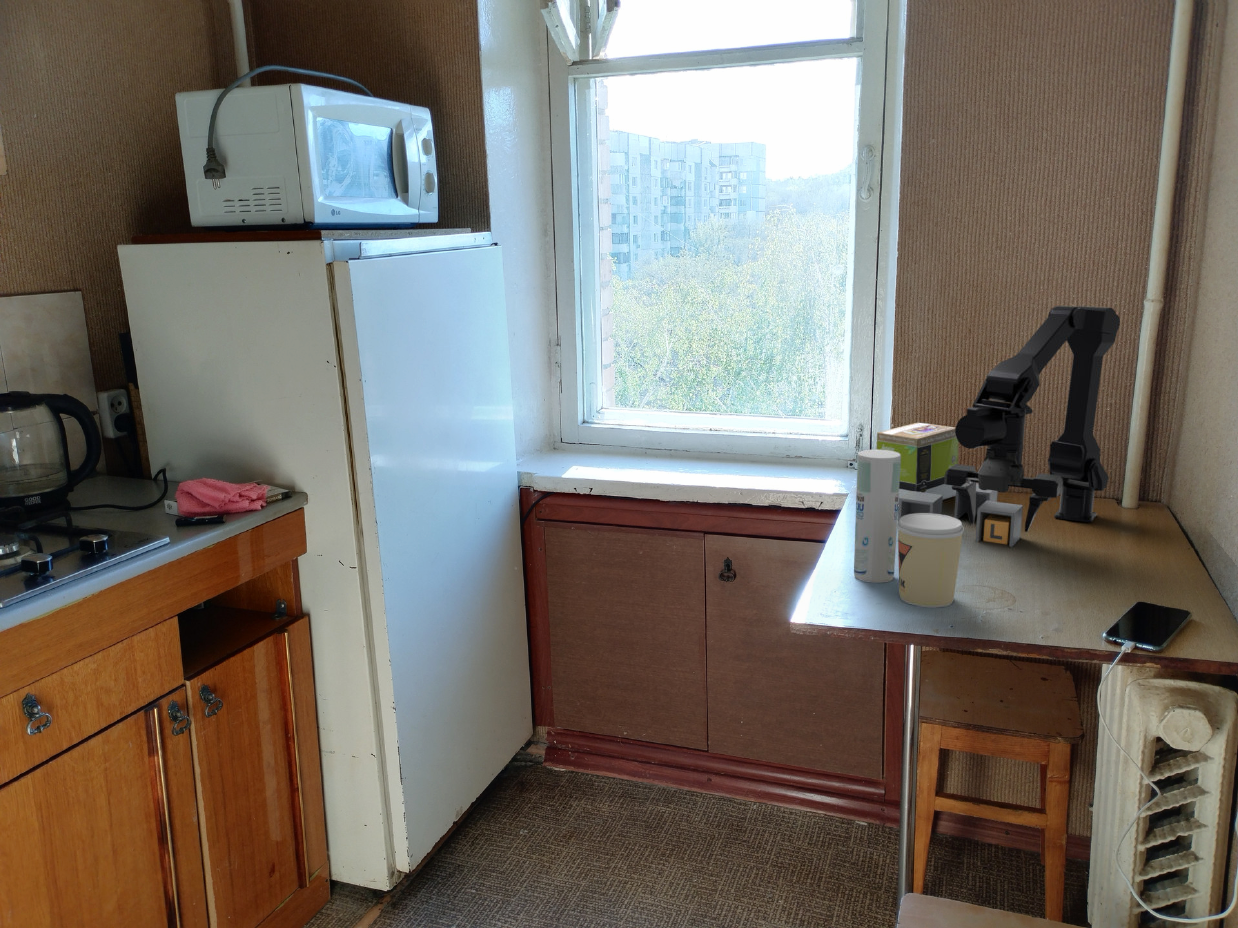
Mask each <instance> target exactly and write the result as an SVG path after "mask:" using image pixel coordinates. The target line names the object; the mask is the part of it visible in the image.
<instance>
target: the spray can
mask: <svg viewBox="0 0 1238 928" xmlns="http://www.w3.org/2000/svg"><path fill="white" fill-rule="evenodd" d="M856 464H857V466H856V467H857V468H856V493H855V495H856V496H855V525H854V526H855V527H854V529H855V530H854V556H853V557H854V558H853V561H854V562H853V574H854V575H853V577H855V578H856V579H857V580H860V581H863V582H867V583H874V584H875V583H877V584H878V583H887V582H891V581H892V580H894V577H895V565H896V549H897V534H898V529H897V523H898V508H899V506H898V499H899V481H900V464H901V455H900V454H899V453H897V452H894V451H889V450H877V449H865V450H861V451H858V453H857V462H856Z"/></svg>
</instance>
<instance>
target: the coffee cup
mask: <svg viewBox="0 0 1238 928" xmlns="http://www.w3.org/2000/svg"><path fill="white" fill-rule="evenodd" d="M897 528H898V529H897V544H898V545H897V546H898V547H897V548H898V592H899V594H898V595H899V598H900V600H902V601H903V602H904V603H907V604H908V605H912V606H915V607H920V608H921V607H922V608H930V609H931V608H943V607H948V606H950V605H951V604H952V603H953V601H954V597H955V591H956V585H957V578H958V570H959V564H960V556H961V549H962V541H963V534H964V531H965V527H964V526H963V523H962V521H961V520H960V519H959V518H958V519H956V518H954V516H953V517H952V516H950V515H947V514H942V515H941V514H932V513H915V514H909V515H905V516H903V517H901V518H900V520H899V522H898V521H897Z"/></svg>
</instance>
